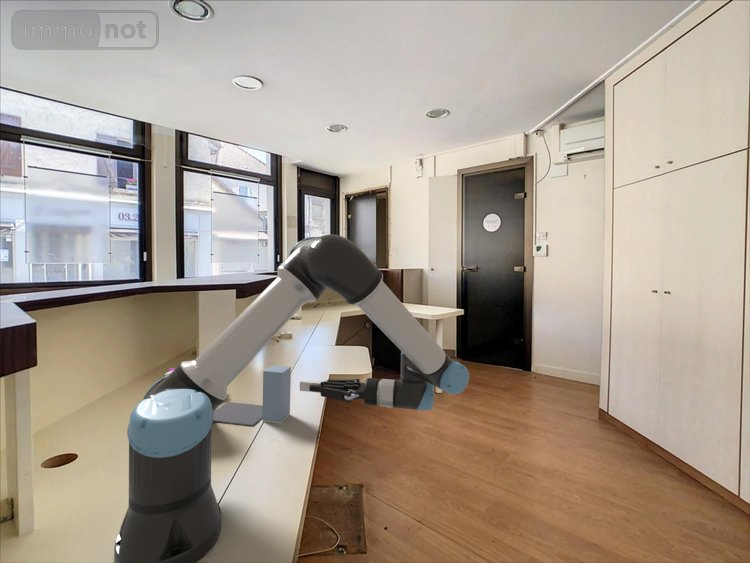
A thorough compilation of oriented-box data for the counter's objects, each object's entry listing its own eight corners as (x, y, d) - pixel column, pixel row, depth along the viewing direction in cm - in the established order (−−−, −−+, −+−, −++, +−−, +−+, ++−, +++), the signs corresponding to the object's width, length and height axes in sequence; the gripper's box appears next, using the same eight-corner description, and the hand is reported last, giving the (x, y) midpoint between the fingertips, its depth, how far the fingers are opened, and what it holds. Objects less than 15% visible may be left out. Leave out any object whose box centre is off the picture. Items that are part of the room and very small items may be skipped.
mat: (253, 426, 96) (253, 424, 96) (201, 420, 99) (201, 419, 99) (273, 407, 109) (273, 406, 109) (227, 403, 111) (227, 401, 111)
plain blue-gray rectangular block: (281, 423, 99) (282, 372, 98) (262, 421, 100) (263, 371, 99) (289, 414, 105) (290, 366, 104) (271, 412, 105) (272, 365, 105)
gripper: (375, 414, 91) (291, 406, 94) (381, 396, 104) (307, 390, 107) (376, 387, 90) (292, 380, 94) (382, 372, 103) (308, 366, 107)
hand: (300, 385), depth 100 cm, fingers closed
